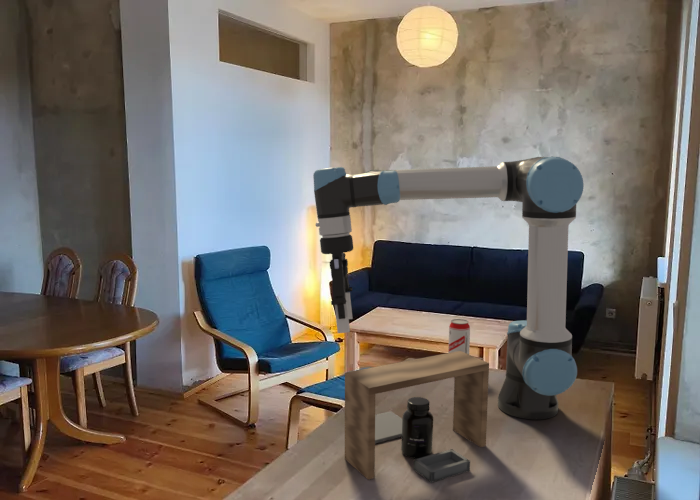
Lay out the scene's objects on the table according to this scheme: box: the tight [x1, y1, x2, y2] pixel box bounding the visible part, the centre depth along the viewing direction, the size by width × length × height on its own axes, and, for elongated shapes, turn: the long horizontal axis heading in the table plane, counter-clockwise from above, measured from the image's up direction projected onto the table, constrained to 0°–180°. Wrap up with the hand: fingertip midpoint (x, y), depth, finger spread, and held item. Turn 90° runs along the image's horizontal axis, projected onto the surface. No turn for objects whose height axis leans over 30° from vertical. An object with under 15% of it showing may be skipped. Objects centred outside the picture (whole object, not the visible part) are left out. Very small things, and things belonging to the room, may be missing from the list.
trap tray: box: [413, 448, 471, 484], centre depth 130 cm, size 6×10×2 cm, turn 119°
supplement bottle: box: [400, 396, 434, 460], centre depth 137 cm, size 7×7×12 cm
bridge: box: [344, 351, 490, 480], centre depth 137 cm, size 10×31×20 cm, turn 119°
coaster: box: [375, 410, 402, 444], centre depth 150 cm, size 12×12×1 cm
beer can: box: [447, 318, 471, 355], centre depth 187 cm, size 6×6×16 cm
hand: (345, 325), depth 146 cm, fingers open, 13 cm apart
